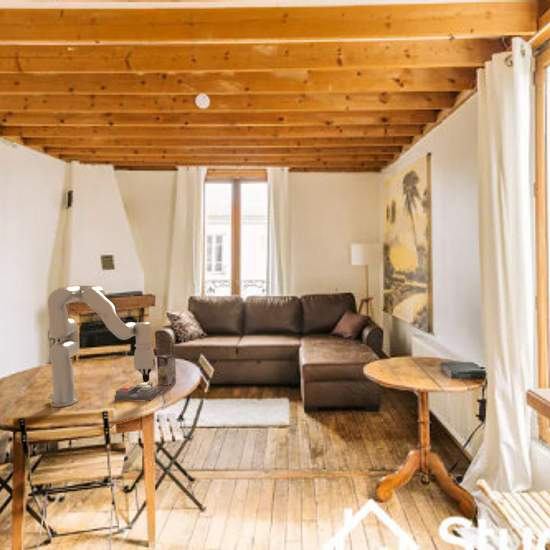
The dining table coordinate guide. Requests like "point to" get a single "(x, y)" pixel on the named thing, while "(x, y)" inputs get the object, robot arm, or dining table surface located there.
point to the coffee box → (166, 369)
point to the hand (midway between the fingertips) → (146, 381)
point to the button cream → (143, 384)
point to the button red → (125, 388)
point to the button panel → (138, 393)
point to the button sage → (146, 388)
